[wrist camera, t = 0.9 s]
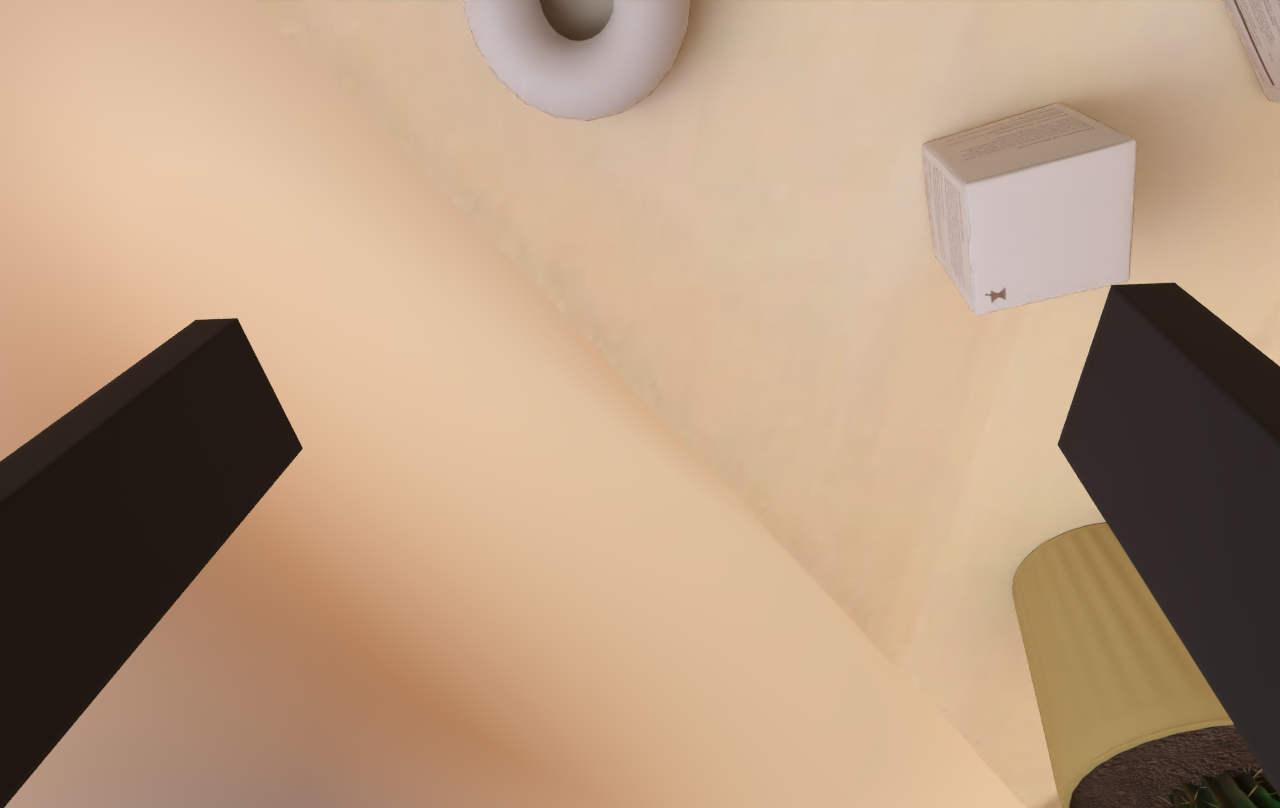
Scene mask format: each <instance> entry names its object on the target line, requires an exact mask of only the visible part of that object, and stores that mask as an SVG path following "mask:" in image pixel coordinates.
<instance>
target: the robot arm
mask: <svg viewBox="0 0 1280 808" xmlns="http://www.w3.org/2000/svg"><path fill="white" fill-rule="evenodd" d="M1058 446H1059V448H1060V449H1061V451H1062V453H1063V454H1064V456H1065V457H1066V459H1067V461H1068V462H1069V464H1070V465H1071V467H1072V468H1073V470H1074V472H1075V473H1076V475H1077V476H1078V478H1079V480H1080V481H1081V483H1082V484H1083V486H1084V487H1085V489H1086V491H1087V492H1088V494H1089V495H1090V497H1091V499H1092V500H1093V502H1094V503H1095V505H1096V507H1097V508H1098V510H1099V511H1100V513H1101V514H1102V516H1103V518H1104V519H1105V521H1106V522H1107V524H1108V526H1109V527H1110V529H1111V530H1112V532H1113V533H1114V535H1115V537H1116V538H1117V540H1118V541H1119V543H1120V545H1121V546H1122V548H1123V549H1124V551H1125V553H1126V554H1127V556H1128V557H1129V559H1130V560H1131V562H1132V564H1133V565H1134V567H1135V568H1136V570H1137V572H1138V573H1139V575H1140V576H1141V578H1142V579H1143V581H1144V583H1145V584H1146V586H1147V587H1148V589H1149V591H1150V592H1151V594H1152V595H1153V597H1154V599H1155V600H1156V602H1157V603H1158V605H1159V606H1160V608H1161V610H1162V611H1163V613H1164V614H1165V616H1166V618H1167V619H1168V621H1169V622H1170V624H1171V625H1172V627H1173V629H1174V630H1175V632H1176V633H1177V635H1178V637H1179V638H1180V640H1181V641H1182V643H1183V645H1184V646H1185V648H1186V649H1187V651H1188V652H1189V654H1190V656H1191V657H1192V659H1193V660H1194V662H1195V664H1196V665H1197V667H1198V668H1199V670H1200V671H1201V673H1202V675H1203V676H1204V678H1205V679H1206V681H1207V683H1208V684H1209V686H1210V687H1211V689H1212V691H1213V692H1214V694H1215V695H1216V697H1217V698H1218V700H1219V702H1220V703H1221V705H1222V706H1223V708H1224V710H1225V711H1226V713H1227V714H1228V716H1229V717H1230V719H1231V721H1232V722H1233V724H1234V725H1235V727H1236V729H1237V730H1238V732H1239V733H1240V735H1241V737H1242V738H1243V740H1244V741H1245V743H1246V744H1247V746H1248V748H1249V749H1250V751H1251V752H1252V754H1253V756H1254V757H1255V759H1256V760H1257V762H1258V763H1259V765H1260V767H1261V768H1262V770H1263V771H1264V773H1265V775H1266V776H1267V778H1268V779H1269V781H1270V783H1271V784H1272V786H1273V787H1274V789H1275V790H1276V792H1277V794H1278V795H1279V797H1280V366H1278V365H1277V364H1276V363H1275V362H1273V361H1272V360H1271V359H1270V358H1268V357H1267V356H1266V355H1265V354H1263V353H1262V352H1261V351H1260V350H1258V349H1257V348H1256V347H1255V346H1253V345H1252V344H1251V343H1250V342H1248V341H1247V340H1246V339H1245V338H1243V337H1242V336H1241V335H1240V334H1238V333H1237V332H1236V331H1235V330H1233V329H1232V328H1231V327H1230V326H1228V325H1227V324H1226V323H1225V322H1223V321H1222V320H1221V319H1220V318H1218V317H1217V316H1216V315H1214V314H1213V313H1212V312H1211V311H1209V310H1208V309H1207V308H1206V307H1204V306H1203V305H1202V304H1201V303H1199V302H1198V301H1197V300H1196V299H1194V298H1193V297H1192V296H1191V295H1189V294H1188V293H1187V292H1186V291H1184V290H1183V289H1182V288H1181V287H1179V286H1178V285H1177V284H1176V283H1154V284H1128V285H1111V288H1110V291H1109V294H1108V297H1107V300H1106V303H1105V306H1104V309H1103V312H1102V315H1101V318H1100V321H1099V324H1098V327H1097V329H1096V332H1095V335H1094V338H1093V341H1092V344H1091V347H1090V350H1089V353H1088V356H1087V359H1086V362H1085V365H1084V368H1083V371H1082V374H1081V377H1080V380H1079V383H1078V386H1077V389H1076V392H1075V395H1074V398H1073V401H1072V404H1071V407H1070V409H1069V412H1068V415H1067V418H1066V421H1065V424H1064V427H1063V430H1062V433H1061V436H1060V439H1059V442H1058ZM301 450H302V446H301V444H300V442H299V440H298V438H297V436H296V434H295V432H294V430H293V428H292V426H291V424H290V422H289V420H288V418H287V416H286V414H285V412H284V410H283V408H282V406H281V404H280V402H279V400H278V398H277V396H276V394H275V392H274V390H273V388H272V386H271V384H270V382H269V380H268V378H267V376H266V374H265V373H264V370H263V368H262V366H261V365H260V363H259V361H258V359H257V357H256V355H255V353H254V351H253V349H252V347H251V345H250V343H249V341H248V339H247V337H246V335H245V333H244V331H243V329H242V327H241V325H240V323H239V321H238V319H237V318H235V319H208V320H195V321H194V322H192V323H191V324H190V325H188V326H187V327H186V328H184V329H183V330H181V331H180V332H179V333H177V334H176V335H175V336H173V337H172V338H170V339H169V340H168V341H166V342H165V343H164V344H162V345H161V346H159V347H158V348H157V349H155V350H154V351H152V352H151V353H150V354H148V355H147V356H146V357H144V358H143V359H141V360H140V361H139V362H137V363H136V364H135V365H133V366H132V367H130V368H129V369H128V370H126V371H125V372H123V373H122V374H121V375H120V376H118V377H117V378H115V379H114V380H113V381H111V382H110V383H108V384H107V385H106V386H104V387H103V388H102V389H100V390H99V391H97V392H96V393H95V394H93V395H92V396H90V397H89V398H88V399H86V400H85V401H84V402H82V403H81V404H79V405H78V406H77V407H75V408H74V409H72V410H71V411H70V412H68V413H67V414H66V415H64V416H63V417H61V418H60V419H59V420H57V421H56V422H54V423H53V424H52V425H50V426H49V427H48V428H46V429H45V430H43V431H42V432H41V433H40V434H38V435H36V436H35V437H34V438H33V439H31V440H30V441H28V442H27V443H25V444H24V445H23V446H21V447H20V448H19V449H17V450H16V451H15V452H13V453H12V454H10V455H9V456H7V457H6V458H5V459H3V460H2V461H1V462H0V808H4V807H5V806H6V805H7V803H8V802H9V801H10V800H11V798H12V797H13V796H14V795H15V794H16V793H17V791H18V790H19V789H20V788H21V787H22V785H23V784H24V783H25V782H26V781H27V779H28V778H29V777H30V776H31V774H32V773H33V772H34V771H35V770H36V769H37V767H38V766H39V765H40V764H41V763H42V761H43V760H44V759H45V757H47V755H48V754H49V753H50V752H51V751H52V749H53V748H54V747H55V746H56V745H57V743H58V742H59V741H60V740H61V739H62V737H63V736H64V735H65V734H66V732H67V731H68V730H69V729H70V728H71V726H72V725H73V724H74V723H75V722H76V721H77V719H78V718H79V717H80V716H81V715H82V713H83V712H84V711H85V710H86V708H87V707H88V706H89V705H90V704H91V702H92V701H93V700H94V699H95V698H96V696H97V695H98V694H99V693H100V692H101V690H102V689H103V688H104V687H105V686H106V684H107V683H108V682H109V681H110V680H111V678H112V677H113V676H114V675H115V674H116V672H117V671H118V670H119V669H120V668H121V666H122V665H123V664H124V663H125V661H126V660H127V659H128V658H129V657H130V656H131V654H132V653H133V652H134V650H136V648H137V647H138V646H139V645H140V644H141V642H142V641H143V640H144V638H146V636H147V635H148V634H149V633H150V631H151V630H152V629H153V628H154V627H155V626H156V624H157V623H158V622H159V621H160V620H161V618H162V617H163V616H164V615H165V614H166V612H167V611H168V610H169V609H170V607H171V606H172V605H173V604H174V603H175V601H176V600H177V599H178V598H179V597H180V595H181V594H182V593H183V592H184V591H185V589H186V588H187V587H188V586H189V584H190V583H191V582H192V581H193V580H194V579H195V577H196V576H197V575H198V574H199V573H200V571H201V570H202V569H203V568H204V567H205V565H206V564H207V563H208V562H209V560H210V559H211V558H212V557H213V556H214V555H215V553H216V552H217V551H218V550H219V549H220V547H221V546H222V545H223V544H224V543H225V541H226V540H227V539H228V538H229V536H230V535H231V534H232V533H233V532H234V531H235V529H236V528H237V527H238V526H239V525H240V523H241V522H242V521H243V520H244V519H245V517H246V516H247V515H248V513H250V511H251V510H252V509H253V508H254V507H255V505H256V504H257V503H258V502H259V500H260V499H261V498H262V497H263V496H264V494H265V493H266V492H267V491H268V490H269V488H270V487H271V486H272V485H273V484H274V482H275V481H276V480H277V479H278V478H279V476H280V475H281V474H282V473H283V472H284V470H285V469H286V468H287V467H288V466H289V464H290V463H291V462H292V461H293V460H294V458H295V457H296V456H297V455H298V453H299V452H300V451H301Z"/></svg>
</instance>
